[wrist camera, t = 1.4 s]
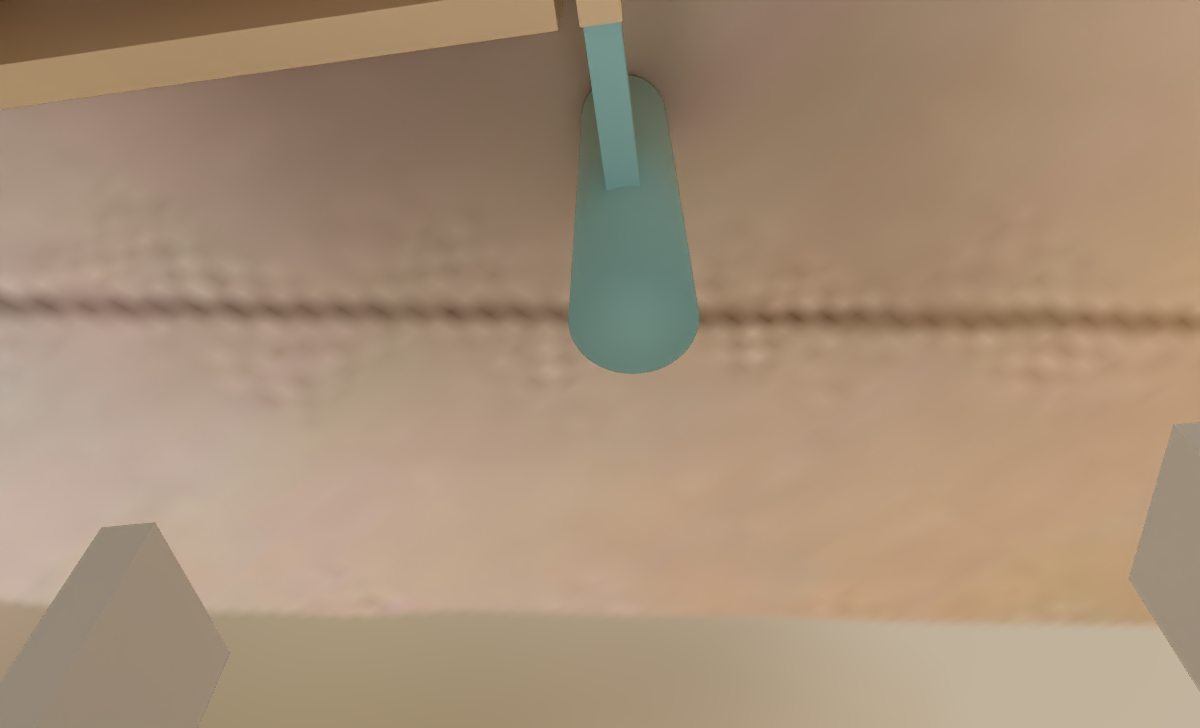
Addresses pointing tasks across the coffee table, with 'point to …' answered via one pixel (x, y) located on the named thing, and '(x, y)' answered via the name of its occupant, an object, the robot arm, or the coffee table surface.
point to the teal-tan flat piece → (627, 216)
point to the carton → (227, 38)
